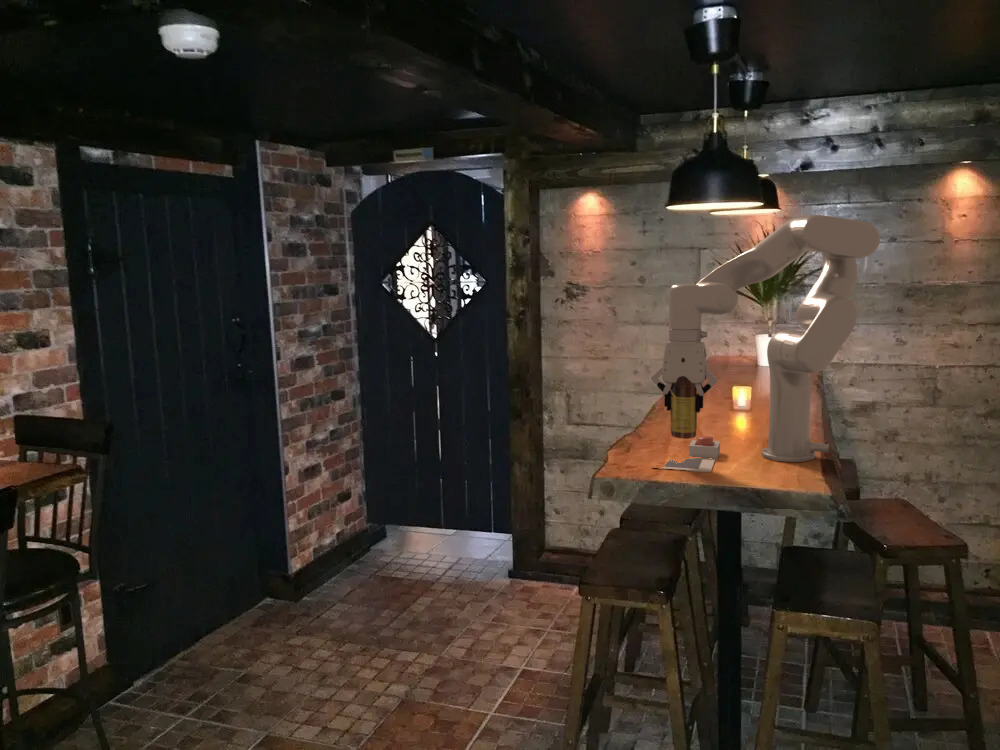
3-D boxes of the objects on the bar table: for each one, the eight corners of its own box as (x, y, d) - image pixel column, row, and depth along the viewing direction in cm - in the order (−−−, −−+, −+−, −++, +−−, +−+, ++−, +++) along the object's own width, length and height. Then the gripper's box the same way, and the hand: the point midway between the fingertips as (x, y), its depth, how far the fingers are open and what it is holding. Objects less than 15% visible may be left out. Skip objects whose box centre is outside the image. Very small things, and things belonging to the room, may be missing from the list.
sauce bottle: (677, 432, 205) (679, 353, 202) (701, 436, 201) (703, 354, 198) (665, 437, 200) (666, 355, 197) (688, 441, 196) (690, 357, 193)
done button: (713, 447, 211) (713, 436, 210) (712, 451, 207) (712, 439, 207) (697, 447, 212) (697, 435, 212) (695, 450, 208) (695, 438, 208)
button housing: (719, 452, 212) (720, 441, 212) (717, 459, 205) (717, 447, 205) (692, 451, 214) (692, 439, 214) (688, 457, 208) (689, 445, 207)
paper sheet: (715, 460, 205) (715, 458, 205) (710, 472, 194) (710, 470, 193) (658, 456, 209) (658, 455, 209) (650, 468, 198) (650, 467, 198)
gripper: (723, 335, 197) (721, 409, 200) (650, 334, 203) (650, 406, 206) (721, 338, 190) (719, 415, 193) (645, 337, 196) (645, 411, 199)
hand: (683, 409), depth 199 cm, fingers closed on sauce bottle, 6 cm apart
